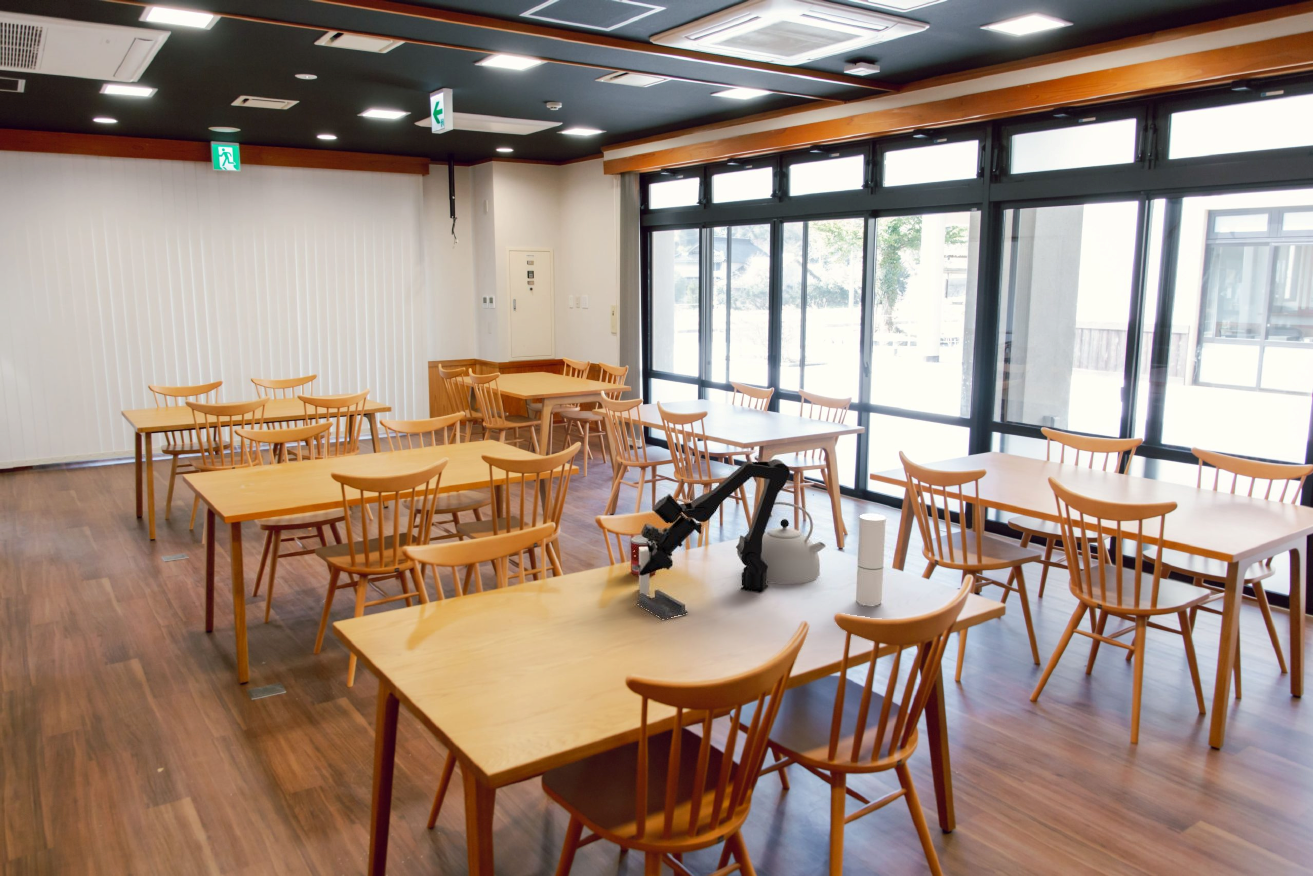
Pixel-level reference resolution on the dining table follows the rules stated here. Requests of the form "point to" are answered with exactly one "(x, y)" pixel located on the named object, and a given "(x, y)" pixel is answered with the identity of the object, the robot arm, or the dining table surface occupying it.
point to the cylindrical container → (870, 559)
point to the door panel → (642, 561)
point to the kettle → (790, 553)
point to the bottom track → (662, 605)
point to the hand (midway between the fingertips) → (639, 571)
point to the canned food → (637, 553)
